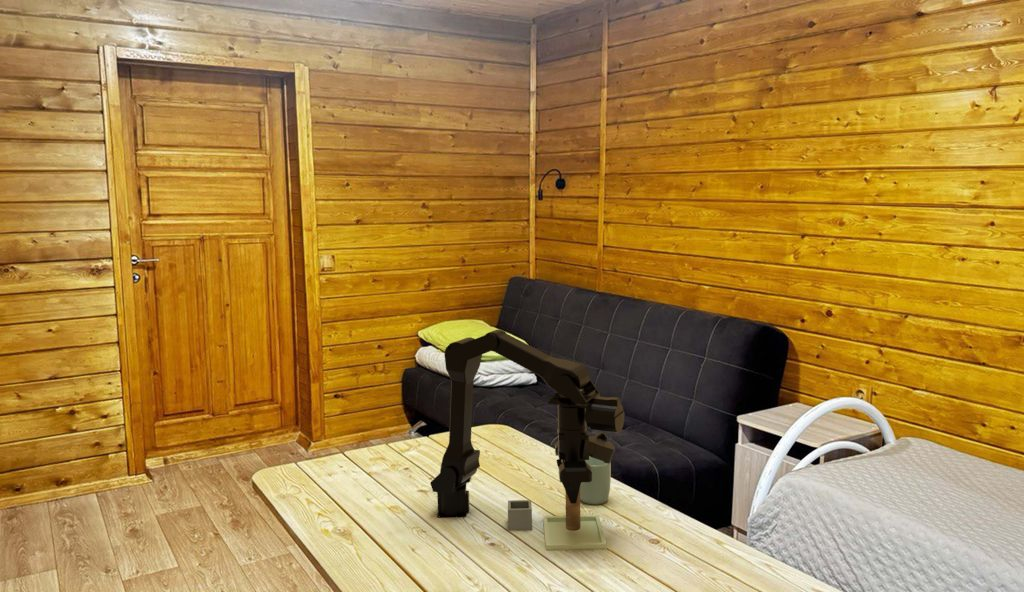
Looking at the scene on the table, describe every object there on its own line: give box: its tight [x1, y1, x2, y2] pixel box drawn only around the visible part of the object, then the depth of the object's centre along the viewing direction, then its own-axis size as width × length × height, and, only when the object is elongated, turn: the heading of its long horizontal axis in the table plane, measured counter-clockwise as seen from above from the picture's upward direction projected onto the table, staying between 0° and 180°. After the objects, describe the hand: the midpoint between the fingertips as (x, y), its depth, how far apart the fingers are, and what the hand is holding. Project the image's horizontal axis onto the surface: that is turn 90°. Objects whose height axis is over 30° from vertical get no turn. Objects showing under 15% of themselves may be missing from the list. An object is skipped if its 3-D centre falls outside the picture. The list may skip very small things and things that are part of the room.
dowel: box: [565, 489, 581, 531], centre depth 162 cm, size 3×3×10 cm
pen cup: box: [507, 499, 533, 532], centre depth 168 cm, size 5×5×5 cm
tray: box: [542, 514, 608, 551], centre depth 163 cm, size 12×14×2 cm
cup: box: [580, 456, 612, 506], centre depth 180 cm, size 8×8×10 cm
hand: (572, 500), depth 162 cm, fingers closed on dowel, 3 cm apart
